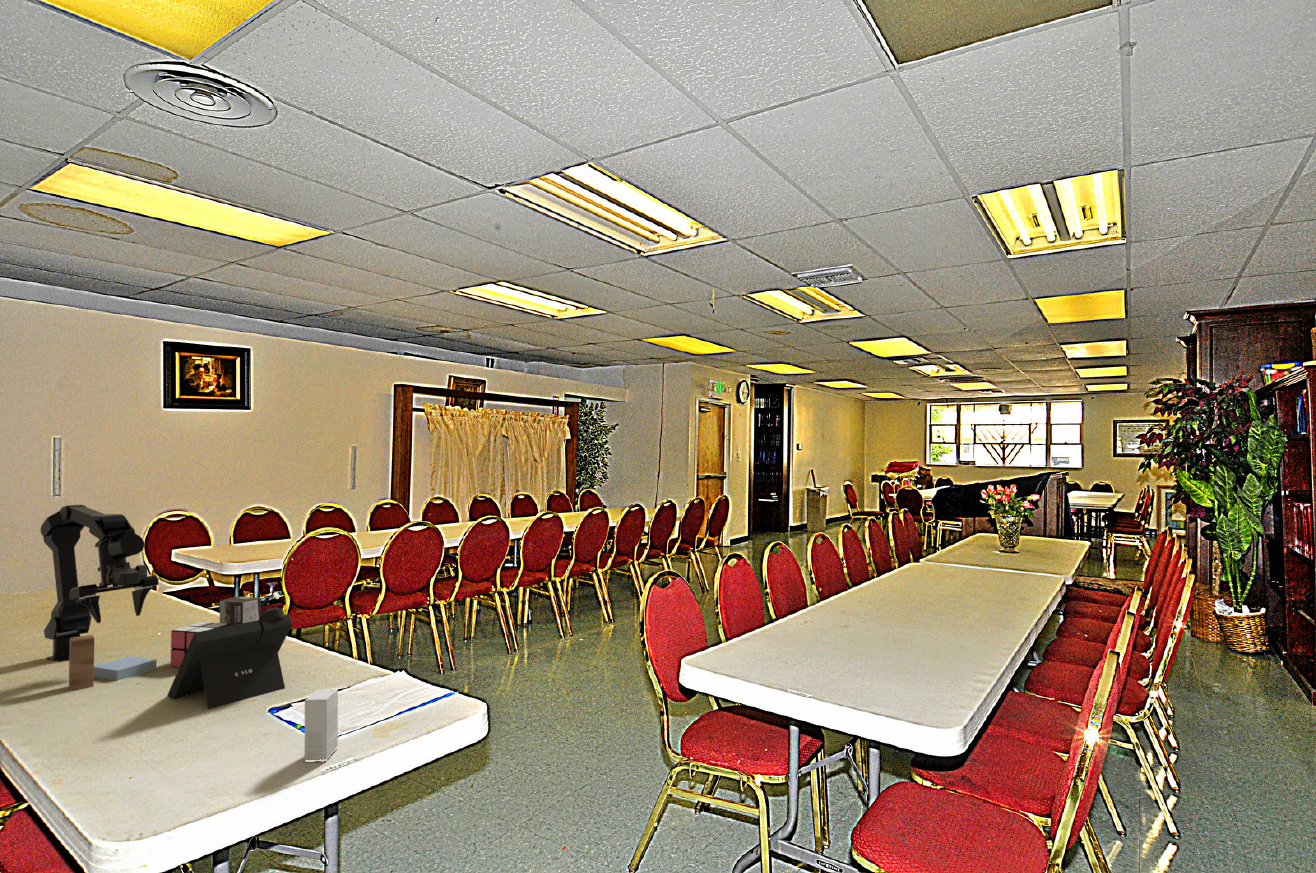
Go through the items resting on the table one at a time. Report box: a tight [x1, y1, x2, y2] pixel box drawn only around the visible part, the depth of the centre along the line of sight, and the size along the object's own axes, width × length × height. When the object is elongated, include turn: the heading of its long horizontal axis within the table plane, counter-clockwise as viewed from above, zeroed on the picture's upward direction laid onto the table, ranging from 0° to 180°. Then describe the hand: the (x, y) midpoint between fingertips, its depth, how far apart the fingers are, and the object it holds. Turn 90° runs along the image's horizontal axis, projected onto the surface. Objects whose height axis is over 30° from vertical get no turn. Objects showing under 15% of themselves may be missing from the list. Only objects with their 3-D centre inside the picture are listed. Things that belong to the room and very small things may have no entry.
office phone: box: [166, 606, 293, 710], centre depth 179 cm, size 29×28×20 cm
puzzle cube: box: [170, 621, 230, 668], centre depth 196 cm, size 10×10×10 cm
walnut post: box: [68, 634, 95, 691], centre depth 176 cm, size 4×4×12 cm
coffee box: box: [219, 596, 262, 626], centre depth 203 cm, size 9×6×16 cm
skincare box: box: [304, 688, 339, 761], centre depth 137 cm, size 6×4×12 cm
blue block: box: [94, 655, 157, 681], centre depth 187 cm, size 10×10×3 cm
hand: (119, 619), depth 188 cm, fingers open, 9 cm apart
